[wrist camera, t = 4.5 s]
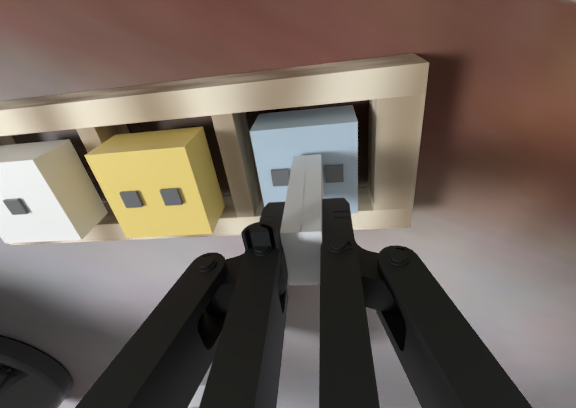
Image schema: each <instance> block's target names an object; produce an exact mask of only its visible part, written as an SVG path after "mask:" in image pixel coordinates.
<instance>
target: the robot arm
mask: <svg viewBox="0 0 576 408" xmlns="http://www.w3.org/2000/svg"><path fill="white" fill-rule="evenodd" d="M241 235H242V238H243V242H244V246H245V253H244V254H242V255H240V256H237V257H234V258H230V259H226V260H225V258H224V257H223V256H222V255H221V254H218V253H207V254H203V255H201V256H199V257H198V258H196V259H195V260H194V261H193V262H192V263H191V264H190V266H189V267H188V268H187V269H186V271H185V272H184V273H183V274H182V276H181V277H180V278H179V279H178V280H177V282H176V283H175V284H174V285H173V287H172V288H171V289H170V290H169V292H168V293H167V294H166V295H165V297H164V298H163V299H162V300H161V302H160V303H159V304H158V305H157V307H156V308H155V309H154V310H153V312H152V313H151V314H150V315H149V317H148V318H147V319H146V320H145V321H144V323H143V324H142V325H141V326H140V328H139V329H138V330H137V331H136V333H135V334H134V335H133V336H132V338H131V339H130V340H129V341H128V343H127V344H126V345H125V346H124V348H123V349H122V350H121V351H120V353H119V354H118V355H117V356H116V358H115V359H114V360H113V361H112V362H111V364H110V365H109V366H108V367H107V369H106V370H105V371H104V372H103V374H102V375H101V376H100V377H99V379H98V380H97V381H96V382H95V384H94V385H93V386H92V387H91V389H90V390H89V391H88V392H87V394H86V395H85V396H84V397H83V399H82V400H81V401H80V402H79V404H78V405H77V406H76V407H75V408H188V406H189V404H190V402H191V400H192V399H193V397H194V395H195V393H196V391H197V389H198V387H199V386H200V384H201V382H202V380H203V378H204V376H205V375H206V373H207V371H208V369H209V367H210V365H211V363H212V365H211V369H210V372H209V375H208V379H207V382H206V386H205V389H204V392H203V396H202V399H201V402H200V406H199V408H276V405H277V395H278V386H279V377H280V367H281V358H282V349H283V339H284V330H285V321H286V311H287V302H288V292H287V279H288V283H289V286H292V285H320V385H319V408H380V407H379V400H378V393H377V386H376V379H375V371H374V364H373V357H372V350H371V343H370V336H369V329H368V322H367V315H366V308H365V307H368V308H372V309H376V311H377V314H378V316H379V318H380V320H381V322H382V324H383V327H384V329H385V331H386V333H387V335H388V337H389V339H390V341H391V343H392V346H393V348H394V350H395V352H396V354H397V356H398V358H399V360H400V362H401V364H402V367H403V369H404V371H405V373H406V375H407V377H408V379H409V381H410V383H411V385H412V388H413V390H414V392H415V394H416V396H417V398H418V400H419V402H420V404H421V406H422V408H532V407H531V405H530V404H529V403H528V401H527V400H526V399H525V397H524V396H523V395H522V393H521V392H520V391H519V389H518V388H517V387H516V385H515V384H514V383H513V381H512V380H511V379H510V377H509V376H508V375H507V373H506V372H505V371H504V369H503V368H502V367H501V365H500V364H499V363H498V361H497V360H496V359H495V357H494V356H493V355H492V353H491V352H490V351H489V349H488V348H487V347H486V345H485V344H484V343H483V341H482V340H481V339H480V338H479V336H478V335H477V334H476V332H475V331H474V330H473V328H472V327H471V326H470V324H469V323H468V322H467V320H466V319H465V318H464V316H463V315H462V314H461V312H460V311H459V310H458V308H457V307H456V306H455V304H454V303H453V302H452V300H451V299H450V298H449V296H448V295H447V294H446V292H445V291H444V290H443V288H442V287H441V286H440V284H439V283H438V282H437V280H436V279H435V278H434V276H433V275H432V274H431V272H430V271H429V270H428V268H427V267H426V266H425V264H424V263H423V262H422V261H421V259H420V258H419V257H418V255H417V254H416V253H415V252H414V251H412V250H411V249H409V248H406V247H403V246H389V247H386V248H384V249H382V250H381V251H380V252H379V253H375V252H370V251H367V250H365V249H363V248H361V247H360V246H358V245H357V243H356V242H355V239H354V233H353V226H352V218H351V212H350V204H349V203H348V201H347V200H346V199H345V198H327V199H324V188H323V173H322V159H321V154H317V155H303V156H293V161H292V167H291V172H290V178H289V184H288V189H287V195H286V201H285V202H269V203H268V204H267V205H266V206H265V207H264V208H263V210H262V213H261V217H260V221H259V222H256V223H253V224H250V225H248V226H247V227H246V228H244V229H243V231H242V233H241ZM71 387H72V380H71V378H70V376H69V374H68V373H67V371H66V370H65V369H64V368H63V367H62V366H61V365H60V364H58V363H57V362H56V361H55V360H53V359H52V358H50V357H49V356H47V355H46V354H44V353H42V352H40V351H38V350H36V349H34V348H32V347H30V346H28V345H25V344H23V343H20V342H17V341H14V340H11V339H8V338H4V337H0V408H58V407H59V406H60V405H61V403H62V402H63V400H64V399H65V397H66V396H67V394H68V392H69V391H70V389H71Z"/></svg>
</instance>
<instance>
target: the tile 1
mask: <svg viewBox="0 0 576 408" xmlns="http://www.w3.org/2000/svg"><path fill="white" fill-rule="evenodd" d="M107 214H108V212H107V210H106V208H105V206H104V204H103V202H102V200H101V198H100V196H99V195H98V193H97V191H96V189H95V187H94V185H93V183H92V181H91V179H90V177H89V175H88V174H87V172H86V170H85V168H84V166H83V164H82V162H81V160H80V158H79V156H78V154H77V153H76V151H75V149H74V147H73V145H72V143H71V141H70V139H65V140H54V141H44V142H33V143H22V144H12V145H1V146H0V237H1V238H2V240H3V241H4V242H5V243H25V242H47V241H69V240H82V239H83V238H84V237H85V236H86V235H87V234H88V233H89V232H90V231H91V230H92V229H93V228H94V227H95V226H96V225H97V224H98V223H99V222H100V221H101V220H102V219H103V218H104V217H105V216H106V215H107Z"/></svg>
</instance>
